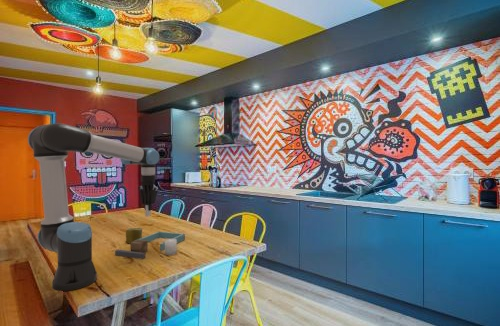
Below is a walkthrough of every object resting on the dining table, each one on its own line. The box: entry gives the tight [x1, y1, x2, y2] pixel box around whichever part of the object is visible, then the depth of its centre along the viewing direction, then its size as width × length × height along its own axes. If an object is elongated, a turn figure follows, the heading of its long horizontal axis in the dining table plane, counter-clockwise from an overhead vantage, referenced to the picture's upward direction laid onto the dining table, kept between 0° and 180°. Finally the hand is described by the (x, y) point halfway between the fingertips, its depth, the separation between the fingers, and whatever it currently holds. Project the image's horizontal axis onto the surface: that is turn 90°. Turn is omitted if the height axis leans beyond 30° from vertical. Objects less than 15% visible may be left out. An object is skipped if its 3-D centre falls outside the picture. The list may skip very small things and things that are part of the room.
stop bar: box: [114, 249, 146, 260], centre depth 139 cm, size 2×18×2 cm, turn 70°
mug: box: [125, 227, 143, 244], centre depth 166 cm, size 12×10×10 cm
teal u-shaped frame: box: [135, 231, 186, 251], centre depth 161 cm, size 22×19×4 cm
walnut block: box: [129, 240, 149, 254], centre depth 145 cm, size 6×6×6 cm
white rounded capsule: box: [164, 238, 178, 256], centre depth 143 cm, size 6×6×7 cm
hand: (148, 216), depth 154 cm, fingers closed
